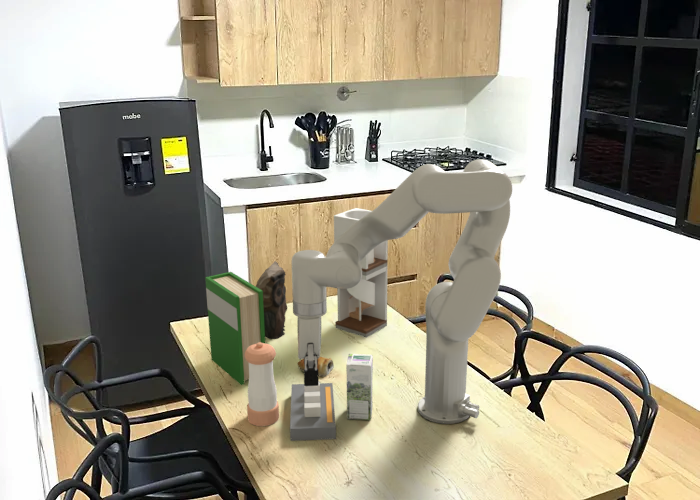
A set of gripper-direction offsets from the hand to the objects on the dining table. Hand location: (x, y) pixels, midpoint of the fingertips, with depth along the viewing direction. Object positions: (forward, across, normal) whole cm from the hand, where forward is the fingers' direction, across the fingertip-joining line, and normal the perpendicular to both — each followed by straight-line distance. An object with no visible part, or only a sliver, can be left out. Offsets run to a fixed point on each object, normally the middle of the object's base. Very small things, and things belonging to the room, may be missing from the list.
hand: (311, 374), depth 164 cm
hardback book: (+11, -26, -19) cm, 34 cm away
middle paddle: (+7, 0, 0) cm, 7 cm away
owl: (+11, -50, -13) cm, 52 cm away
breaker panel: (+11, 0, 0) cm, 11 cm away
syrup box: (+11, 0, +11) cm, 16 cm away
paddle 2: (+7, +5, 0) cm, 9 cm away
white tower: (+11, -50, +15) cm, 53 cm away
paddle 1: (+7, -5, 0) cm, 9 cm away
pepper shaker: (+11, 0, -11) cm, 16 cm away
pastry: (+11, -23, +2) cm, 25 cm away
